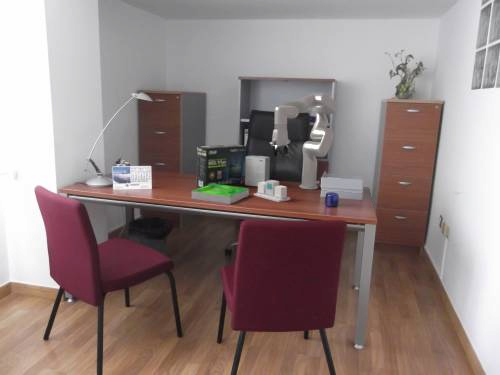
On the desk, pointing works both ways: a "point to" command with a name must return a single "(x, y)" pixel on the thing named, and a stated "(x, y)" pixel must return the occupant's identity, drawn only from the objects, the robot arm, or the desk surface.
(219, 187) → the tray
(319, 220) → the desk surface
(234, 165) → the router box
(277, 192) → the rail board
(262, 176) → the hard drive box
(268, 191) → the block
